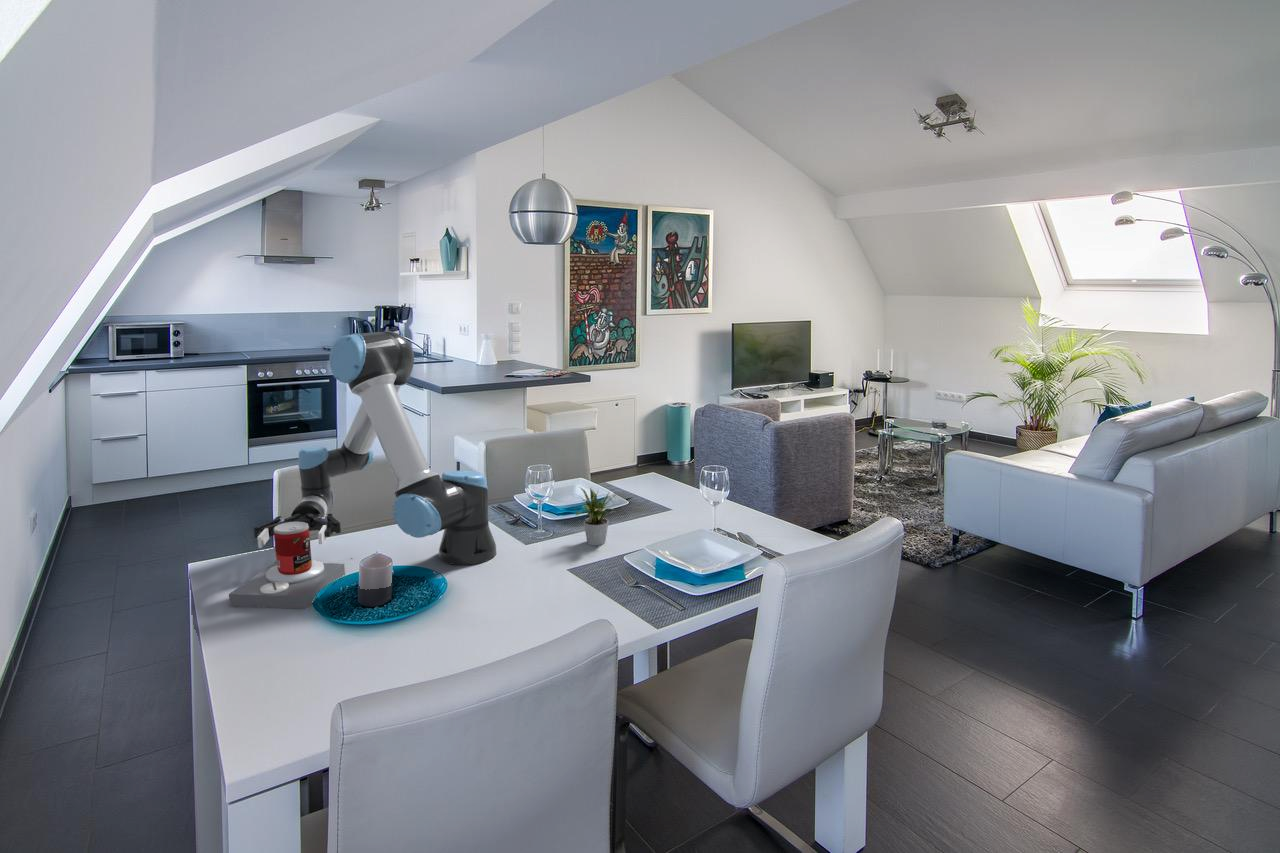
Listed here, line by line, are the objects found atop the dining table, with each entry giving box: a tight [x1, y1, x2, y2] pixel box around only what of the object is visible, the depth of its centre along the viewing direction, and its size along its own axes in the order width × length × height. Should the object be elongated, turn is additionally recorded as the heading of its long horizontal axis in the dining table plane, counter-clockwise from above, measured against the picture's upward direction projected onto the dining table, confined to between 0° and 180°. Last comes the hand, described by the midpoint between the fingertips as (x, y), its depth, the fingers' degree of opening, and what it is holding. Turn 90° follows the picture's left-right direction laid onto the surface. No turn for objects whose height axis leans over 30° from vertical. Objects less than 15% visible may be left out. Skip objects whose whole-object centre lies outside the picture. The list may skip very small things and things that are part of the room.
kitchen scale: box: [228, 559, 346, 610], centre depth 186 cm, size 18×20×4 cm
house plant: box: [570, 486, 619, 546], centre depth 218 cm, size 14×14×16 cm
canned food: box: [273, 522, 313, 575], centre depth 188 cm, size 8×8×11 cm
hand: (289, 540), depth 185 cm, fingers open, 13 cm apart
